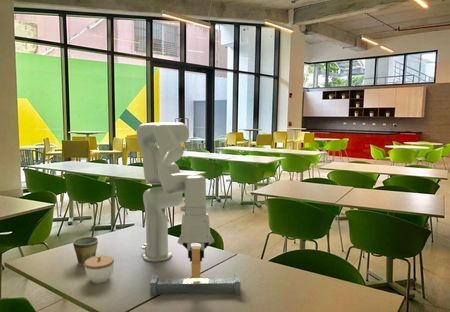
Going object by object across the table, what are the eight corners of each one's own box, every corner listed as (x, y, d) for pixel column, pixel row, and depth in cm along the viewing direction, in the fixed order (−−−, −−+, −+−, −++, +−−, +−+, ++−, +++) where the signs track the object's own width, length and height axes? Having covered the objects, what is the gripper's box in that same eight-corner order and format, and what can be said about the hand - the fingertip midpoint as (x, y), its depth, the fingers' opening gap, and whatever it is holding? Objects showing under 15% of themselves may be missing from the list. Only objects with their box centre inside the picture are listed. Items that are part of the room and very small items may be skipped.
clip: (200, 277, 129) (199, 251, 127) (191, 277, 128) (191, 251, 127) (200, 268, 136) (200, 243, 135) (192, 268, 136) (192, 243, 135)
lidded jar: (85, 288, 136) (84, 264, 135) (84, 276, 146) (83, 253, 144) (115, 283, 140) (114, 259, 139) (113, 271, 150) (112, 249, 148)
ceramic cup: (99, 265, 155) (98, 243, 154) (74, 269, 152) (72, 246, 150) (97, 254, 167) (97, 233, 166) (74, 257, 164) (73, 236, 162)
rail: (150, 296, 130) (150, 282, 129) (153, 288, 136) (152, 275, 135) (240, 294, 131) (240, 281, 131) (239, 286, 137) (239, 274, 137)
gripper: (171, 213, 126) (172, 264, 128) (218, 212, 126) (219, 263, 128) (173, 207, 133) (174, 256, 135) (218, 207, 134) (218, 255, 136)
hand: (196, 259), depth 132 cm, fingers closed on clip, 3 cm apart
